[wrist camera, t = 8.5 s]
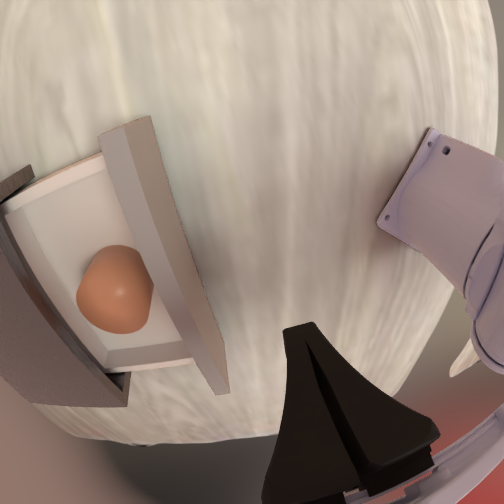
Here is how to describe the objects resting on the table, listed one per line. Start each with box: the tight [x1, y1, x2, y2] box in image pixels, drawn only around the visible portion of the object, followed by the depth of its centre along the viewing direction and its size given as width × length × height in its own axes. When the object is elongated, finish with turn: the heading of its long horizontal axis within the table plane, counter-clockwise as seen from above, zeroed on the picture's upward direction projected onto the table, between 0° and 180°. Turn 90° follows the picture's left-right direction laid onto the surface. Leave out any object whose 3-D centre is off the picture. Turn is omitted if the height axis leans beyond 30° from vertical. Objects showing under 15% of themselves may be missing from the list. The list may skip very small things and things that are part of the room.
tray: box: [0, 116, 230, 395], centre depth 16 cm, size 12×20×6 cm, turn 10°
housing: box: [0, 165, 131, 407], centre depth 16 cm, size 14×20×6 cm
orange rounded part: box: [76, 245, 154, 334], centre depth 17 cm, size 5×5×4 cm
